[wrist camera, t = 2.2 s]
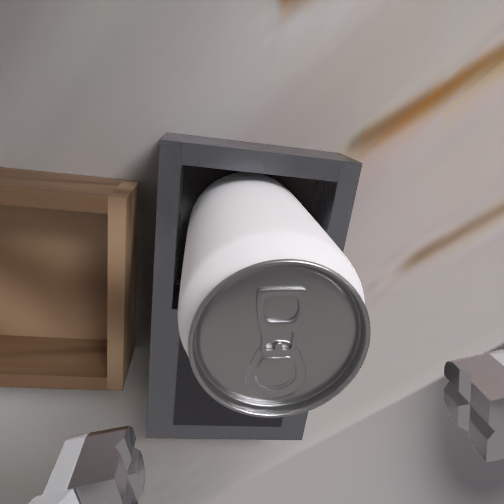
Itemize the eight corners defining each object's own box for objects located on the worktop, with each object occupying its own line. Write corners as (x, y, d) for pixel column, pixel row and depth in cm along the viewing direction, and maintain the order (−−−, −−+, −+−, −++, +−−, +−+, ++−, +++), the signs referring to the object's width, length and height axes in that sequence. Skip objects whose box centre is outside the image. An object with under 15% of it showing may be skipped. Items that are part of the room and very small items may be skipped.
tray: (166, 132, 21) (159, 139, 18) (339, 153, 22) (363, 163, 19) (153, 396, 27) (145, 439, 24) (290, 400, 28) (302, 441, 25)
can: (189, 278, 24) (176, 434, 13) (187, 169, 22) (168, 246, 11) (296, 276, 25) (369, 423, 14) (304, 170, 23) (400, 244, 12)
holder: (-78, 159, 20) (-140, 172, 17) (139, 181, 22) (126, 198, 18) (-51, 340, 24) (-96, 383, 20) (134, 348, 26) (122, 390, 22)
